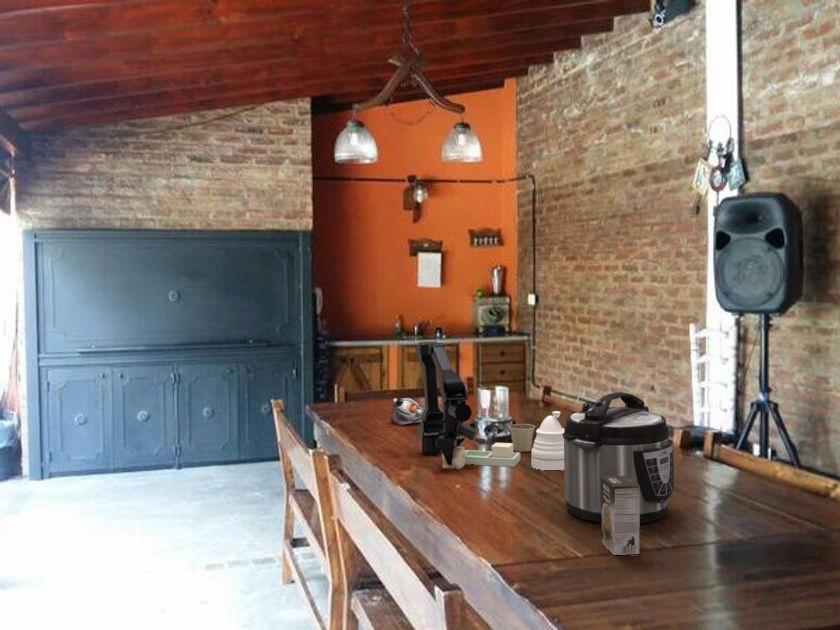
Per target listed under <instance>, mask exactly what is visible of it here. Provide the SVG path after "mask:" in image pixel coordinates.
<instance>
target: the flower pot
mask: <svg viewBox="0 0 840 630" xmlns="http://www.w3.org/2000/svg"><path fill="white" fill-rule="evenodd" d="M535 428H536V426H535V425H533V424H529V423H516V424H510V425H509V426H508V429H509V432H510V435H511V441H512V442H511V443H513V451H515V452H516V453H523V452H531V450H532V446H533V444H532V443H533V436H534V431H535Z"/></svg>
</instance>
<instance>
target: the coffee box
mask: <svg viewBox="0 0 840 630" xmlns="http://www.w3.org/2000/svg"><path fill="white" fill-rule="evenodd" d="M601 509H602V523H601V544H602V543H603V544H602V545H603V546H604V545H605V546H604V547H605V549H606V550H607V551H608V550H609V551H610V552H611V553H612V554H613V555H626V554H640V551H641V550H640V535H641V534H640V532H641V531H640V524H641V523H640V486H639V485H638V484H636V483H635V482H634V481H632V480H631V479H630V478H629V477H627V476H602V477H601ZM610 552H609V553H610ZM611 553H610V554H611ZM612 554H611V555H612ZM613 555H612V556H613ZM640 555H641V554H640Z"/></svg>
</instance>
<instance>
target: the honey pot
mask: <svg viewBox="0 0 840 630" xmlns="http://www.w3.org/2000/svg"><path fill="white" fill-rule="evenodd" d="M551 414H552V415H548V416H546V417H545V418H544V419H543V421H542V422H541V424H540V427H539V428H537V429H536V431H535V432H536V436H535V439H534V440H533V441H534V443H533V444H532V447H531V450H530V452H531V457H530V458H531V460H530V461H531V462H530V463H531V467H532V468H533V469H535V468H536V469H535V470H538V469H540V470H539V471H544V470H561V471H564V438H563V435H562V433H564V427H562V425H561V423H560V422H559V420H558V418H560V416H561V411H558V410H557V411H556V410H555V411H552V413H551Z"/></svg>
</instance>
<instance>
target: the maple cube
mask: <svg viewBox="0 0 840 630" xmlns="http://www.w3.org/2000/svg"><path fill="white" fill-rule="evenodd" d="M465 448H466V447H465V446H460V447H456V448H455V449H454V452H453V459H452V465H448V464H447V461H446V459H445V457H444V455H443V453H441V455H442V456H441V457H442V458H441V459H442V469H454V468H456V469H457V470H459V469H460V470H461V469H462V468H463V467H465V465H466V464H465V451H466V449H465Z"/></svg>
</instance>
